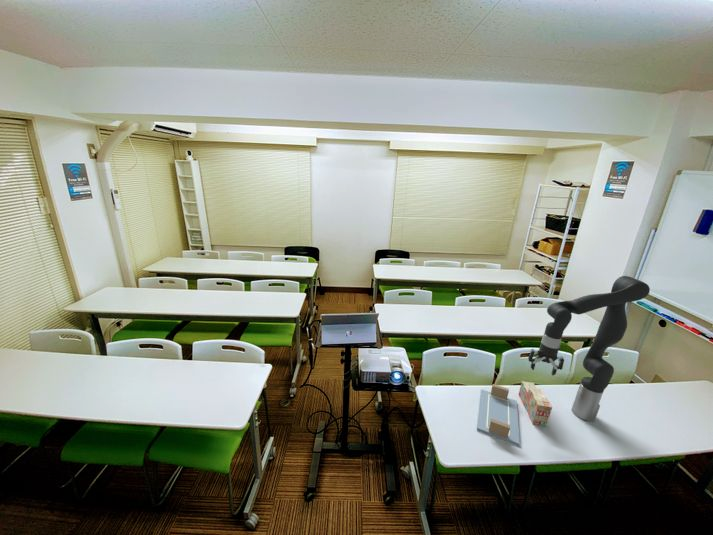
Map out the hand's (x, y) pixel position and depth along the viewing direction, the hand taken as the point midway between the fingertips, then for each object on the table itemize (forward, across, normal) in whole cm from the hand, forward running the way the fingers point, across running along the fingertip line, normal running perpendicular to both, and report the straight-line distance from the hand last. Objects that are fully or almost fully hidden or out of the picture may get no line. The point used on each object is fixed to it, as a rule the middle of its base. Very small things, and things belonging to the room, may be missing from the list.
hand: (542, 371), depth 144 cm
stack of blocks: (+24, 0, 0) cm, 24 cm away
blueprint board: (+24, +16, +13) cm, 31 cm away
